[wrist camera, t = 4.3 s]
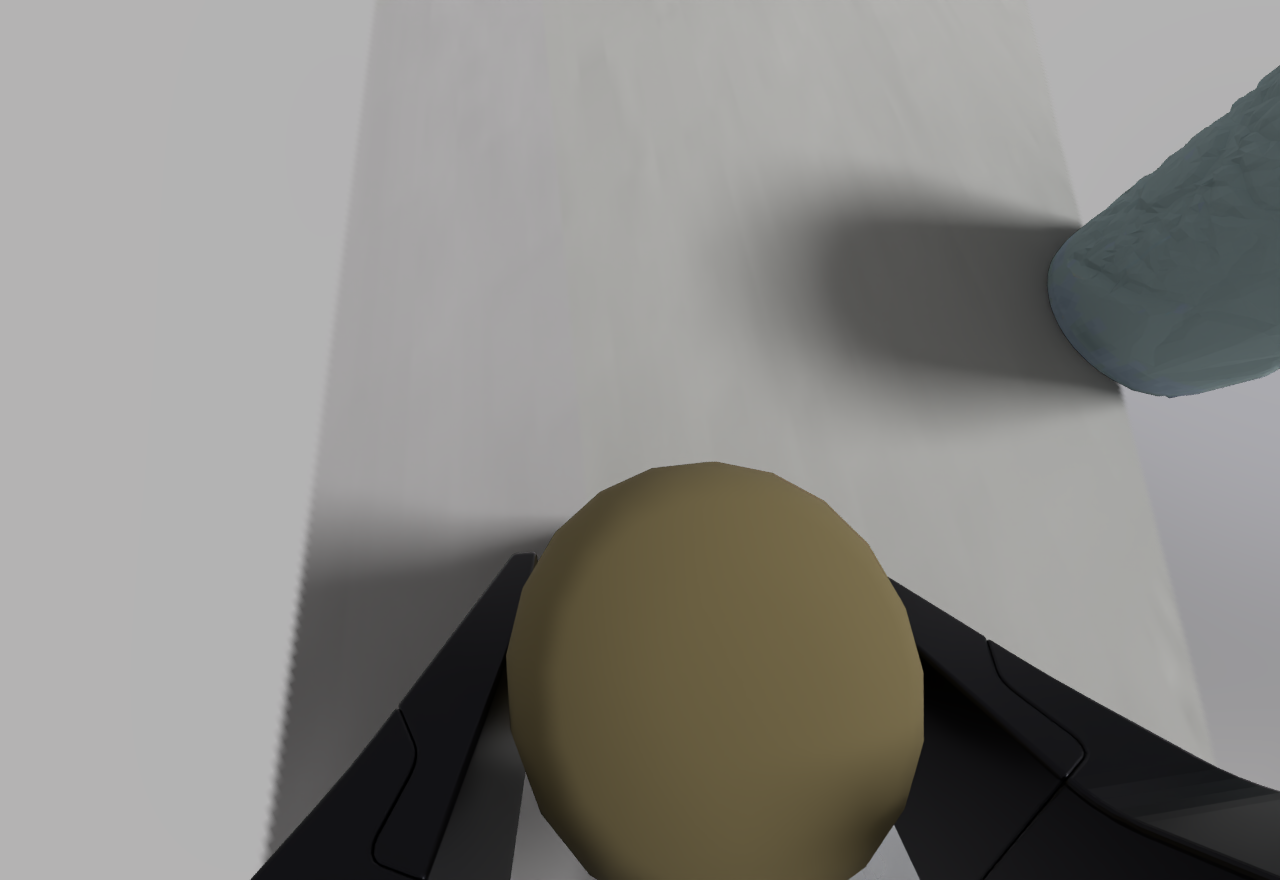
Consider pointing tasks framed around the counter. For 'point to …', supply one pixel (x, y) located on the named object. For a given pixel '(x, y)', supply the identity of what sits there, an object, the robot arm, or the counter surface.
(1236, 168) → the teal cup
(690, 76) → the counter surface
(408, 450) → the counter surface
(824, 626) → the cork
